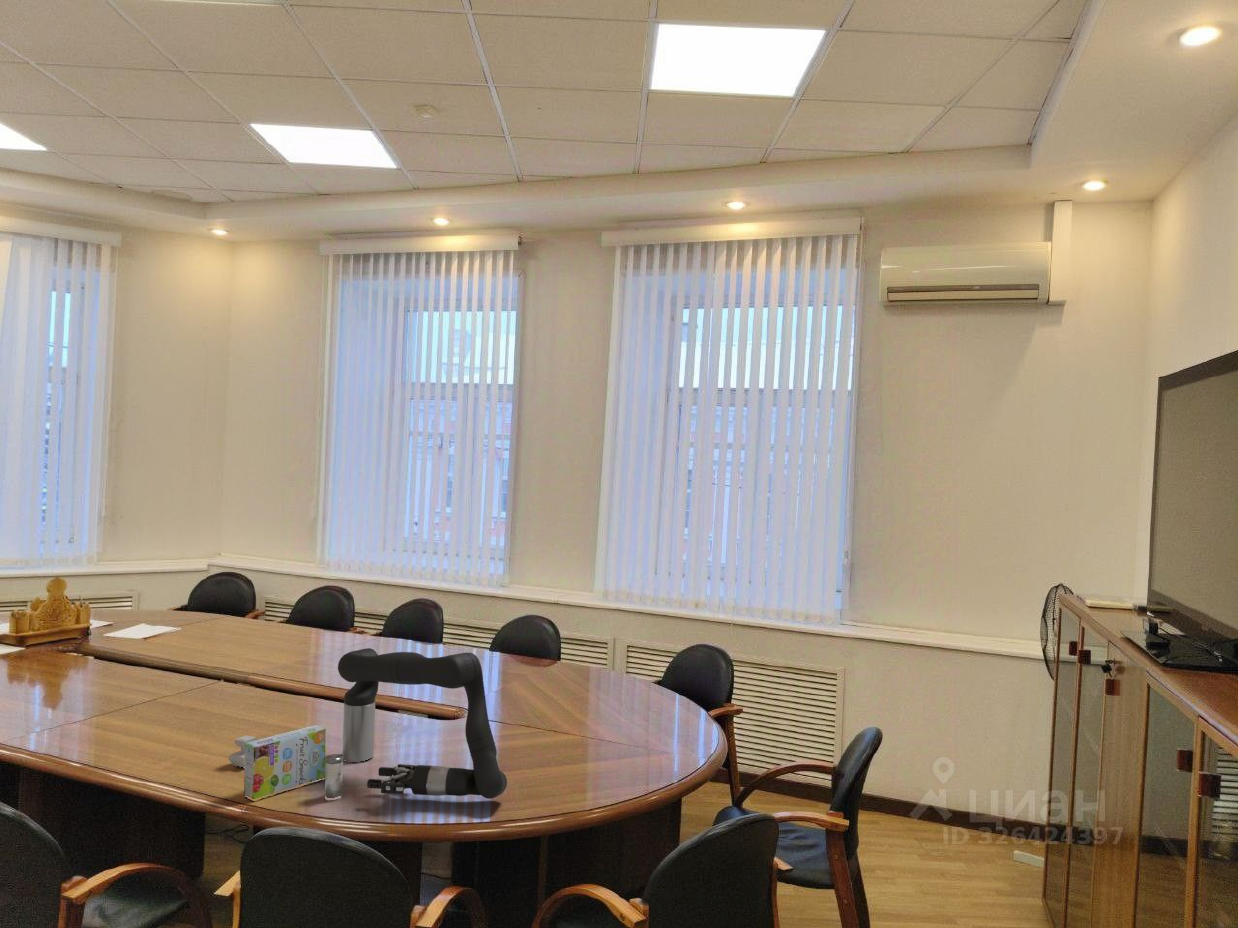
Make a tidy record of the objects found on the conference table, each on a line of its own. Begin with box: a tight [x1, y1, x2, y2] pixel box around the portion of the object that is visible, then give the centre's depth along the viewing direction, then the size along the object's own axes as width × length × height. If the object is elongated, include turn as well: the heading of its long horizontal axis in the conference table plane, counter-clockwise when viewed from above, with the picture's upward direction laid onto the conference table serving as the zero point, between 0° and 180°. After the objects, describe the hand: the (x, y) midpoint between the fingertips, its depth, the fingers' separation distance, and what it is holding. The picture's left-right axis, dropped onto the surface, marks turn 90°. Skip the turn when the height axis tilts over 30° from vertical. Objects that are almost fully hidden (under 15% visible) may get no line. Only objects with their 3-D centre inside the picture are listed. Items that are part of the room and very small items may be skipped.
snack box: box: [243, 724, 327, 799], centre depth 228 cm, size 21×6×15 cm, turn 141°
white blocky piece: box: [228, 735, 257, 768], centre depth 243 cm, size 9×7×8 cm
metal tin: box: [324, 753, 344, 798], centre depth 223 cm, size 5×5×11 cm
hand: (373, 777), depth 223 cm, fingers open, 8 cm apart
